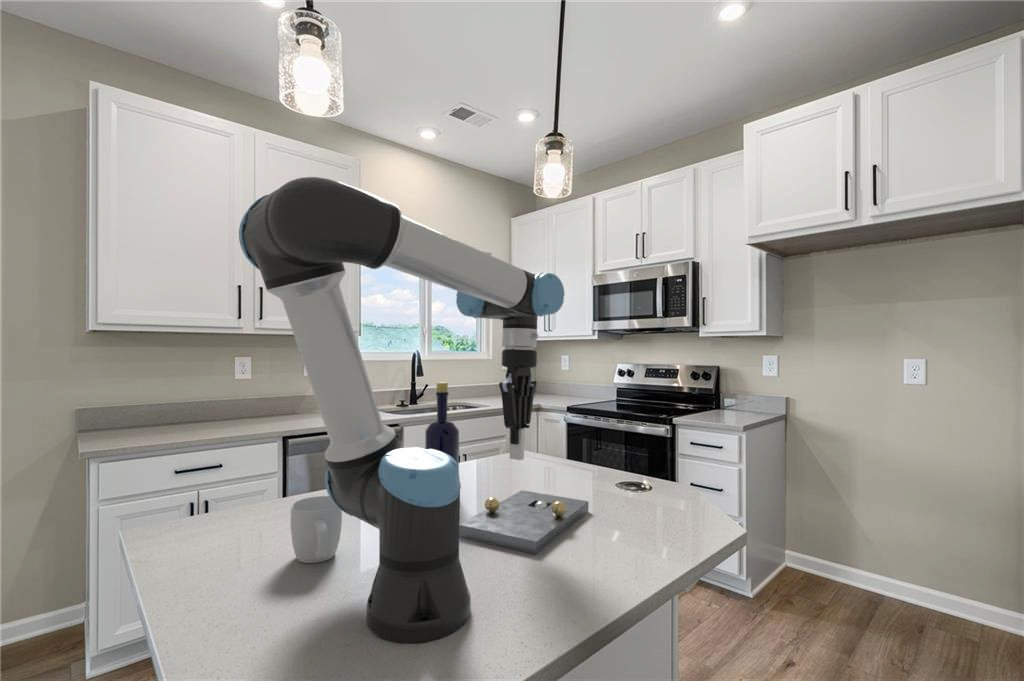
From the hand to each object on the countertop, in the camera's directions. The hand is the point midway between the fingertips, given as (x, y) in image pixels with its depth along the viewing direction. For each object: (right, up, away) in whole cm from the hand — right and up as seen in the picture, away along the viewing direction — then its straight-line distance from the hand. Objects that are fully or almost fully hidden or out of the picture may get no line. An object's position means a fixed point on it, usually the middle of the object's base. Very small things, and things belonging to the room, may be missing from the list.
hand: (516, 458), depth 107 cm
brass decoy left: (-5, -11, +4) cm, 13 cm away
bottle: (-19, -16, +21) cm, 32 cm away
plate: (+3, -15, +4) cm, 16 cm away
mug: (-37, -15, -15) cm, 43 cm away
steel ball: (+6, -14, +10) cm, 18 cm away
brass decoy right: (+9, -11, +2) cm, 15 cm away
